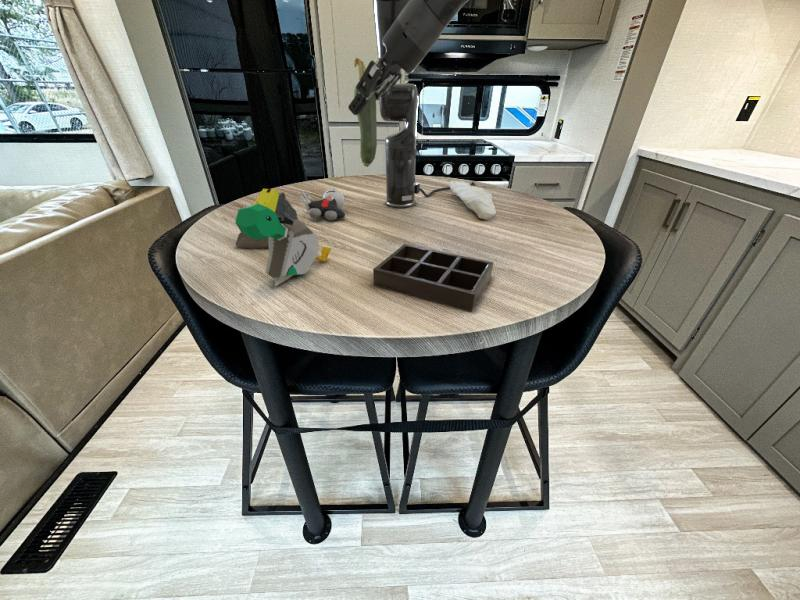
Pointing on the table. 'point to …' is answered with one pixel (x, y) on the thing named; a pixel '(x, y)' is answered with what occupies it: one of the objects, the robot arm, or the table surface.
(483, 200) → the rock
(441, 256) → the brown compartment tray
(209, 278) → the table surface
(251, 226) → the toy
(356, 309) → the table surface
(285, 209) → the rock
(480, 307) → the table surface
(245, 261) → the table surface
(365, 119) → the vegetable
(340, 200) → the toy
